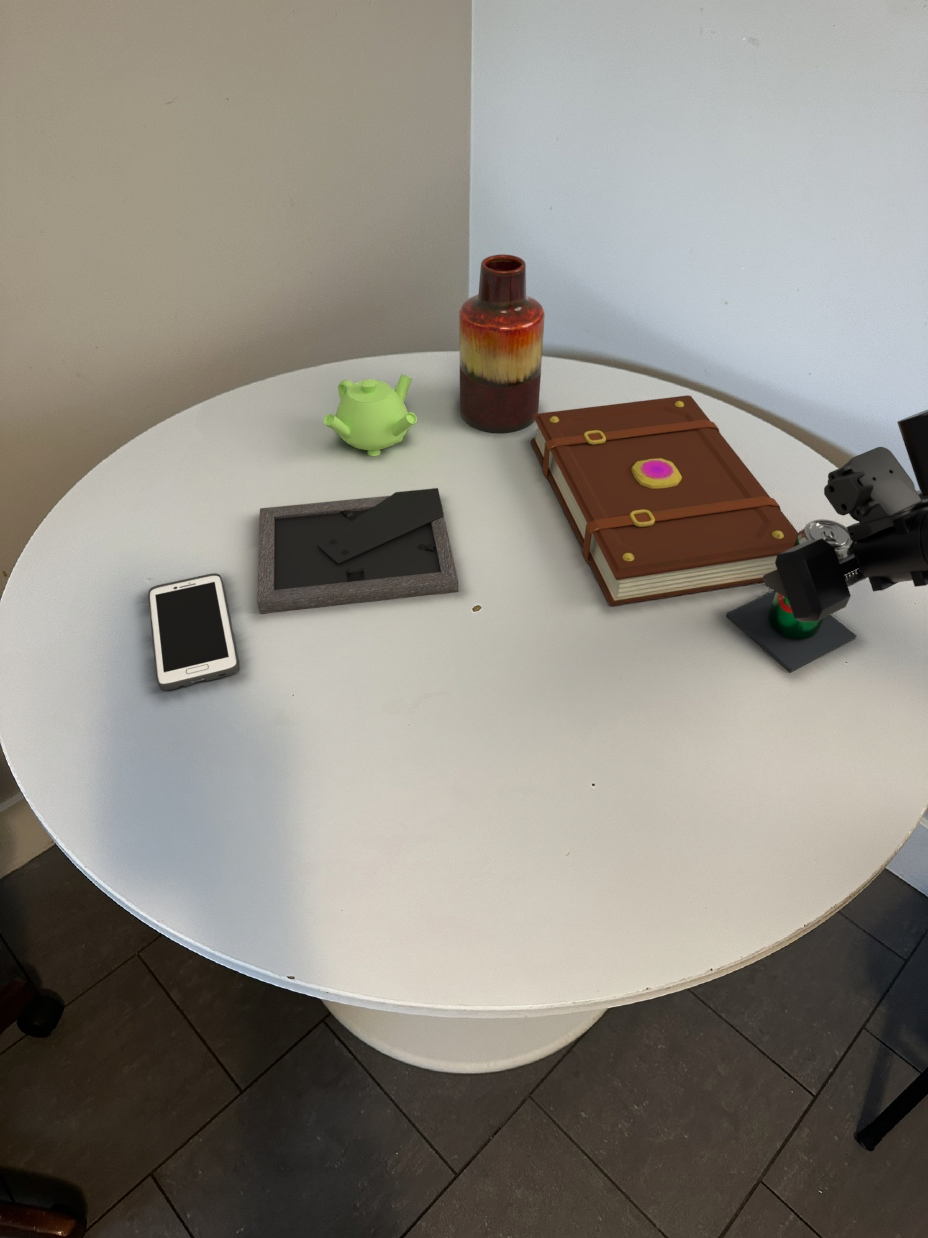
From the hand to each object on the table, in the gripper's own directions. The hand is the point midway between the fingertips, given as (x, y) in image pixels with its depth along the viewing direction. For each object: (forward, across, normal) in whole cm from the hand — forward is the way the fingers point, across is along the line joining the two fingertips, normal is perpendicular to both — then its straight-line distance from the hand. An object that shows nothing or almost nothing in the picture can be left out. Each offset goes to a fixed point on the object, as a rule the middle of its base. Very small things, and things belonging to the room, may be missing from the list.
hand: (800, 564), depth 79 cm
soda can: (+4, 0, +6) cm, 7 cm away
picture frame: (+28, +34, -17) cm, 47 cm away
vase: (+40, +4, -29) cm, 49 cm away
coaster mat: (+4, 0, +6) cm, 8 cm away
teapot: (+41, +22, -30) cm, 56 cm away
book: (+21, -1, -10) cm, 23 cm away
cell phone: (+26, +53, -15) cm, 61 cm away
